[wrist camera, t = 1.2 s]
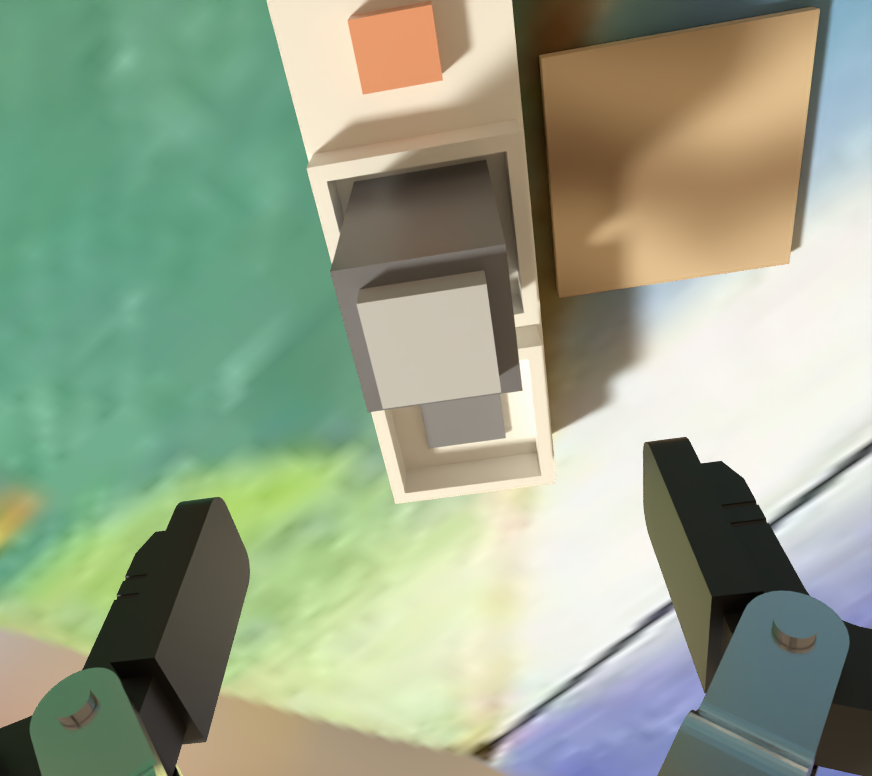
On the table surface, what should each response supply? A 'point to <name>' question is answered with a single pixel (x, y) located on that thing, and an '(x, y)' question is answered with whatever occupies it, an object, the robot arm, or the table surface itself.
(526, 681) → the table surface
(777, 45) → the coaster
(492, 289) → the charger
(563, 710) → the table surface
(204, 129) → the table surface
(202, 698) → the robot arm
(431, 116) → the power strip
